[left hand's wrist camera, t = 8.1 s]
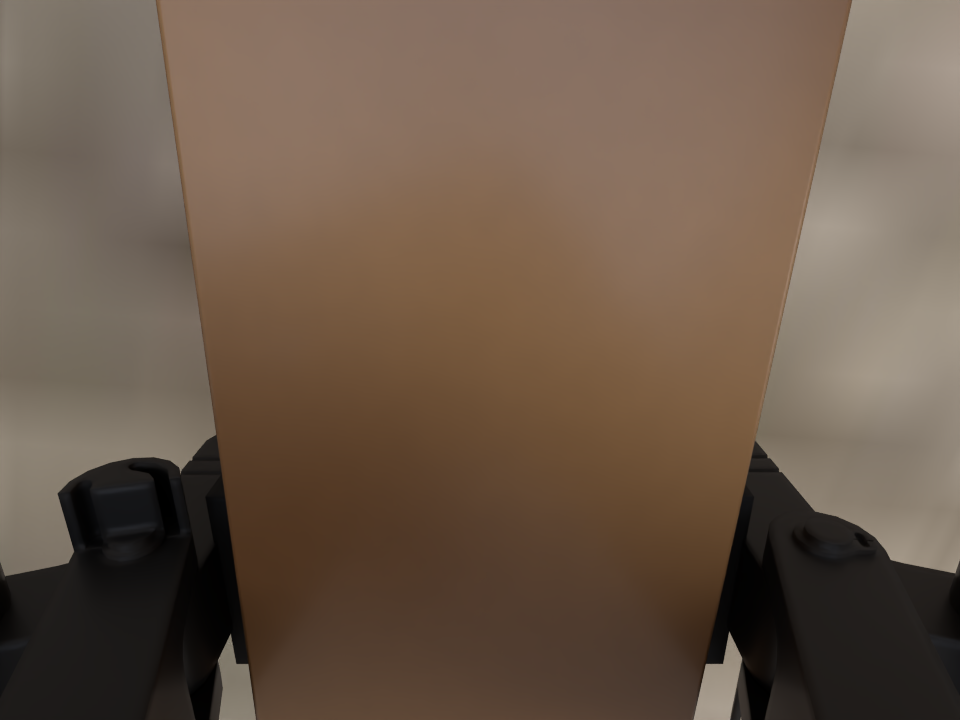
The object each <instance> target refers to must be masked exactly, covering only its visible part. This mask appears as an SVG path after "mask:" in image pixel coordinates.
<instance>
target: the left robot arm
mask: <svg viewBox="0 0 960 720" xmlns="http://www.w3.org/2000/svg"><path fill="white" fill-rule="evenodd" d="M58 496H59V500H60V503H61V507H62V510H63V514H64V517H65V521H66V524H67V528H68V531H69V535H70V538H71V542H72V545H73V548H74V553H73V555H72V557H71V559H70V561H69V563H67V564H63V565H59V566H55V567H50V568H45V569H40V570H35V571H30V572H25V573H20V574H15V575H10V576H5V575H4V572H3V569H2V566H1V563H0V720H219V713H220V705H221V697H222V690H223V687H222V679H221V673H220V668H219V663H218V659H219V657H220V655H221V653H222V650H223V648H224V646H225V644H226V642H227V640H228V638H229V636H230V634H231V637H232V642H233V648H234V653H235V658H236V664H248V657H247V650H246V643H245V635H244V628H243V621H242V614H241V607H240V600H239V592H238V585H237V578H236V571H235V564H234V557H233V549H232V542H231V535H230V528H229V521H228V514H227V506H226V499H225V492H224V485H223V478H222V471H221V463H220V456H219V449H218V442H217V435H215V436H214V437H212V438H210V439H209V440H207V441H206V442H205V443H204V444H203V446H202V447H201V448H200V449H199V450H198V451H197V453H196V454H195V455H194V456H193V460H192V461H189V462H188V463H187V465H186V466H185V467H184V468H183V469H182V471H181V474H180V469H179V467H178V466H176V465H175V464H174V463H172V462H171V461H169V460H164V459H159V458H154V457H152V458H131V459H127V460H122V461H117V462H112V463H108V464H106V465H103V466H100V467H97V468H95V469H92V470H89V471H87V472H85V473H84V474H82V475H80V476H78V477H77V478H75V479H73V480H72V481H70V482H69V483H68V484H67V485H66V486H65V487H64V488H63V489H62V490H61V491H60V492H59V493H58ZM729 632H730V634H731V636H732V638H733V640H734V642H735V644H736V646H737V648H738V650H739V652H740V654H741V656H742V663H741V668H740V673H739V678H738V683H737V688H736V693H735V698H734V702H733V707H732V712H731V718H730V720H740V718H741V719H742V720H960V561H959V564H958V567H957V570H956V573H950V572H945V571H940V570H935V569H930V568H924V567H919V566H914V565H909V564H904V563H900V562H896V561H892V560H890V558H889V556H888V554H887V552H886V550H885V549H884V548H883V547H882V546H881V544H880V543H879V542H878V541H877V539H876V538H875V537H873V536H872V535H870V534H869V533H868V532H866V531H865V530H863V529H862V528H860V527H859V526H857V525H855V524H852V523H850V522H848V521H845V520H843V519H841V518H838V517H836V516H832V515H827V514H823V513H819V512H815V511H814V510H813V509H812V508H811V506H810V505H809V504H808V503H807V502H806V500H805V499H804V498H803V497H802V496H801V494H800V493H799V492H798V491H797V490H796V489H795V487H794V486H793V485H792V484H791V483H790V481H789V480H788V479H787V478H786V477H785V475H784V474H783V473H782V472H779V468H778V467H777V466H776V465H775V464H774V462H773V461H772V460H771V459H770V458H767V454H766V453H765V452H764V451H763V449H762V448H761V447H760V446H759V445H758V443H757V442H756V441H755V443H754V447H753V452H752V456H751V461H750V466H749V470H748V475H747V479H746V484H745V488H744V493H743V497H742V502H741V506H740V511H739V515H738V520H737V524H736V529H735V534H734V538H733V543H732V547H731V552H730V556H729V561H728V565H727V570H726V574H725V579H724V583H723V588H722V592H721V597H720V602H719V606H718V611H717V615H716V620H715V624H714V629H713V633H712V638H711V642H710V647H709V651H708V656H707V660H706V664H723V661H724V656H725V650H726V645H727V640H728V634H729Z"/></svg>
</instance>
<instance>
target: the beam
mask: <svg viewBox="0 0 960 720" xmlns="http://www.w3.org/2000/svg"><path fill="white" fill-rule="evenodd" d="M851 3H852V0H156V5H157V12H158V19H159V26H160V33H161V40H162V48H163V55H164V62H165V69H166V76H167V83H168V91H169V98H170V105H171V112H172V119H173V126H174V134H175V141H176V148H177V155H178V162H179V169H180V177H181V184H182V191H183V198H184V205H185V213H186V220H187V227H188V234H189V241H190V248H191V256H192V263H193V270H194V277H195V284H196V291H197V299H198V306H199V313H200V320H201V327H202V334H203V342H204V349H205V356H206V363H207V370H208V377H209V385H210V392H211V399H212V406H213V413H214V420H215V428H216V435H217V442H218V449H219V456H220V463H221V471H222V478H223V485H224V492H225V499H226V506H227V514H228V521H229V528H230V535H231V542H232V549H233V557H234V564H235V571H236V578H237V585H238V592H239V600H240V607H241V614H242V621H243V628H244V635H245V643H246V650H247V657H248V664H249V671H250V678H251V686H252V693H253V700H254V707H255V714H256V720H693V719H694V715H695V710H696V706H697V701H698V697H699V692H700V688H701V683H702V679H703V674H704V670H705V665H706V660H707V656H708V651H709V647H710V642H711V638H712V633H713V629H714V624H715V620H716V615H717V611H718V606H719V602H720V597H721V592H722V588H723V583H724V579H725V574H726V570H727V565H728V561H729V556H730V552H731V547H732V543H733V538H734V534H735V529H736V524H737V520H738V515H739V511H740V506H741V502H742V497H743V493H744V488H745V484H746V479H747V475H748V470H749V466H750V461H751V456H752V452H753V447H754V443H755V438H756V434H757V429H758V425H759V420H760V416H761V411H762V407H763V402H764V398H765V393H766V388H767V384H768V379H769V375H770V370H771V366H772V361H773V357H774V352H775V348H776V343H777V339H778V334H779V330H780V325H781V320H782V316H783V311H784V307H785V302H786V298H787V293H788V289H789V284H790V280H791V275H792V271H793V266H794V262H795V257H796V252H797V248H798V243H799V239H800V234H801V230H802V225H803V221H804V216H805V212H806V207H807V203H808V198H809V194H810V189H811V184H812V180H813V175H814V171H815V166H816V162H817V157H818V153H819V148H820V144H821V139H822V135H823V130H824V126H825V121H826V116H827V112H828V107H829V103H830V98H831V94H832V89H833V85H834V80H835V76H836V71H837V67H838V62H839V58H840V53H841V48H842V44H843V39H844V35H845V30H846V26H847V21H848V17H849V12H850V8H851Z"/></svg>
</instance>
